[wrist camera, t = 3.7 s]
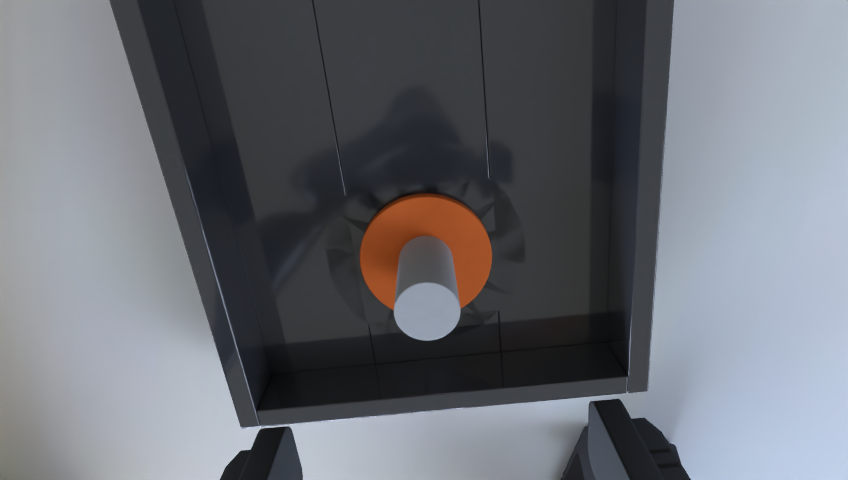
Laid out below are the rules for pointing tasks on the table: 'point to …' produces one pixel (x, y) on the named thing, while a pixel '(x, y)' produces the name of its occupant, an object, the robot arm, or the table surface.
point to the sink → (411, 160)
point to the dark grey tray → (431, 378)
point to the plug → (425, 262)
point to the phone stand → (586, 460)
